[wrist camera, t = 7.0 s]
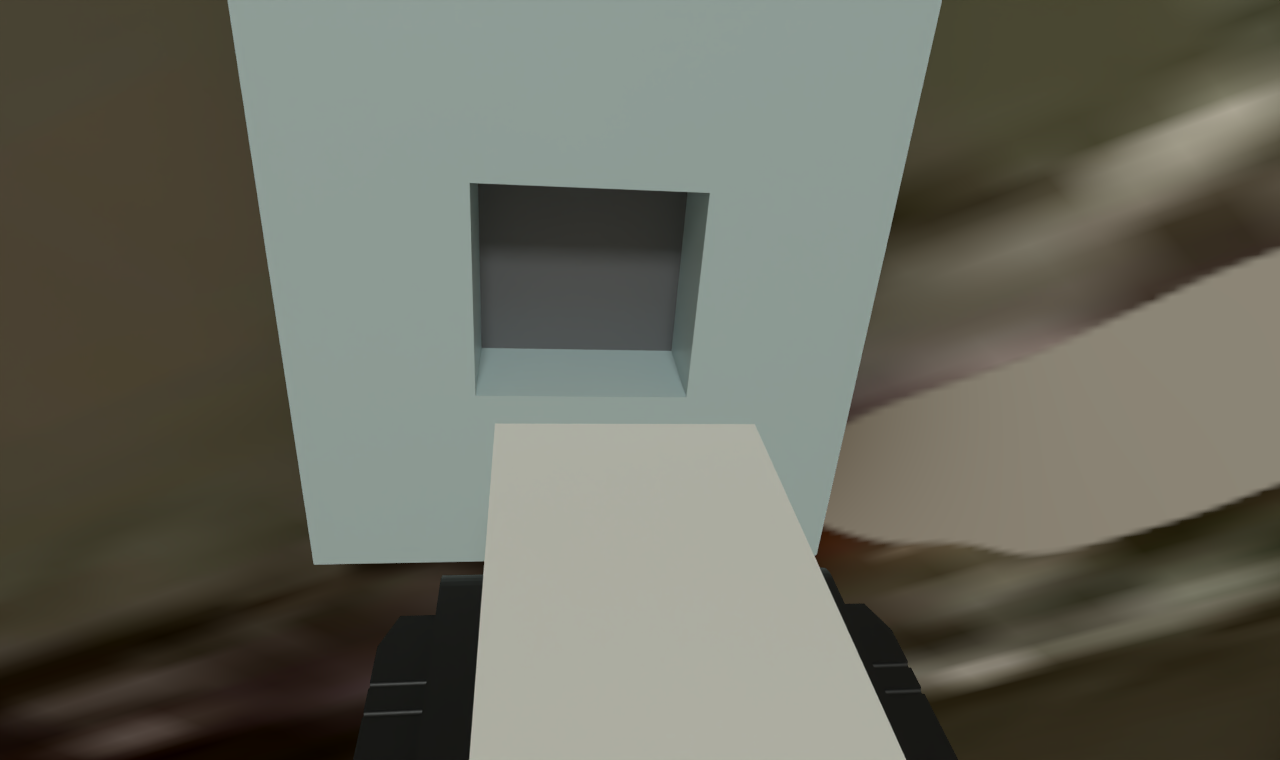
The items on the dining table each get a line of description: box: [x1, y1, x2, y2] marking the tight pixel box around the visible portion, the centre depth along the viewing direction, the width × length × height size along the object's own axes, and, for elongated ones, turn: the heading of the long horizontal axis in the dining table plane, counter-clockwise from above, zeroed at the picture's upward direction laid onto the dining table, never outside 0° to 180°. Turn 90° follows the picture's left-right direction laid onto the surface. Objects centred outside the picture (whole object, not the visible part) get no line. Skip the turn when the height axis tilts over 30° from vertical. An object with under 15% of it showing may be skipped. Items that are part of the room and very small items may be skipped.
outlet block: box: [228, 0, 942, 564], centre depth 23 cm, size 16×18×4 cm
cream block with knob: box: [469, 424, 906, 760], centre depth 10 cm, size 4×4×9 cm
